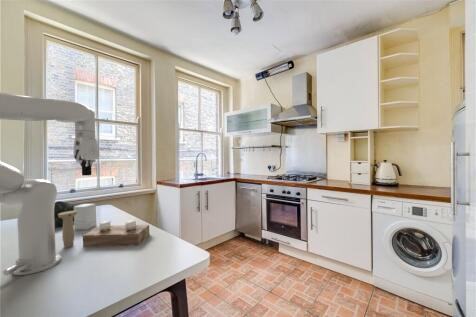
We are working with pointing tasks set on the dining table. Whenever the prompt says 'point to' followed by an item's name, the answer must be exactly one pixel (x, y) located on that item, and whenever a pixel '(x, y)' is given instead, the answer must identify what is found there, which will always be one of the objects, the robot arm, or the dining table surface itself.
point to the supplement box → (85, 216)
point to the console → (116, 236)
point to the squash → (61, 211)
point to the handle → (68, 227)
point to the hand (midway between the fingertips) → (86, 175)
